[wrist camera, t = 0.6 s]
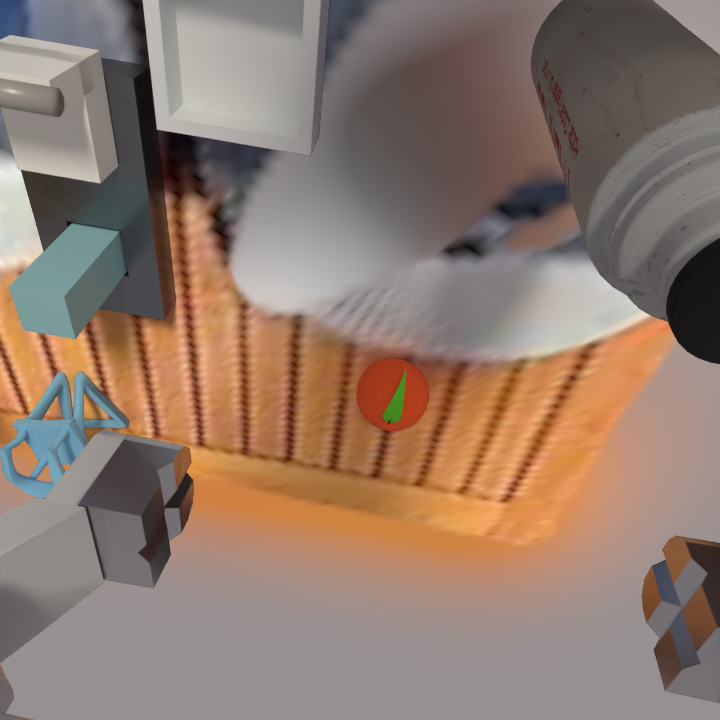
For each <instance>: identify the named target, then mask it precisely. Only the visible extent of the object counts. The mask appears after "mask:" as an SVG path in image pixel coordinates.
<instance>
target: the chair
mask: <svg viewBox="0 0 720 720" xmlns="http://www.w3.org/2000/svg"><path fill="white" fill-rule="evenodd" d="M84 392H85V393H86V394H87V395H88V396H89V397H90V398H91V399H92V400H93V401H95V402H96V403H97V404H98V405H99V406H100V407H101V408H102V409H103V410H104V411H105V412H106V413H108V414H109V415H110V416H111V417H112V418H113V419H114V420H84ZM57 395H59V400H60V405H61V410H62V415H63V419H59V420H43V418H44V416H45V414H46V412H47V411H48V409H49V407H50V406H51V404H52V403H53V401H54V399H55V398H56V396H57ZM128 423H129V421H128V419H127V418H126V417H125V416H124V414H123V413H122V412H121V411H120V410H119V409H118V408H117V407H116V406H115V405H114V404H113V403H112V402H111V401H110V400H109V399H108V398H107V397H106V396H105V395H104V394H103V393H102V392H101V391H100V390H99V389H98V388H97V387H96V386H95V385H94V384H93V383H92V382H91V381H90V379H89V378H88V377H87V376H86V375H85V374H84V373H83V372H78V374H77V375H76V377H75V379H74V412H73V415H72V406H71V398H70V391H69V385H68V381H67V378H66V376H65V374H63V373H62V372H58V373H57V374H56V376H55V378H54V380H53V381H52V383H51V384H50V386H49V387H48V389H47V390H46V392H45V393H44V395H43V396H42V398H41V399H40V401H39V402H38V403H37V405H36V406H35V408H34V409H33V410H32V412H31V413H30V414H29V415H28V416H27V417H26V418H25V419H17V420H16V421H15V422H14V424H13V426H14V427H15V429H16V430H17V435H16V437H15V438H14V439H13V440H12V441H11V442H10V443H8V444H7V445H5V446H4V447H2V448H1V449H0V457H1V464H2V471H3V474H4V476H5V477H6V478H7V479H8V480H9V481H10V482H12V483H13V484H14V485H15V486H17V487H18V488H20V489H21V490H23V491H24V492H26V493H28V494H30V495H32V496H35V497H38V498H43V499H44V498H45V497H46V496H47V495H48V493H49V492H50V491H51V489H52V488H53V487H54V486H55V484H56V483H57V482H58V481H59V479H60V478H61V477H62V475H63V474H64V473H65V470H64V468H63V467H62V464H72V463H73V461H74V460H75V459H76V458H77V456H78V455H79V454H80V453H81V451H82V450H83V449H84V447H85V446H86V445H87V444H88V440H87V437H86V433H85V428H126V427H127V425H128ZM23 440H25V441H26V442H27V444H28V445H29V447H30V448H31V449H32V451H33V453H34V454H35V456H36V458H37V459H38V460H39V462H38V464H37V465H36V467H35V469H34V470H33V472H32V474H31V475H30V477H26V476H23V475H21V474H19V473H18V472H17V471H16V469H15V468H14V465H13V461H12V455H11V449H12V448H14V447H16V446H17V445H19V444H20V443H21V442H23ZM46 465H48V466H49V471H50V475H51V479H52V482H44V481H40V480H36V478H37V477H38V476H39V475H40V473H41V472H42V470H43V469H44V467H45V466H46Z"/></svg>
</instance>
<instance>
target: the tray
mask: <svg viewBox="0 0 720 720" xmlns="http://www.w3.org/2000/svg"><path fill="white" fill-rule="evenodd" d="M143 7H144V16H145V25H146V34H147V43H148V52H149V61H150V70H151V80H152V89H153V98H154V107H155V116H156V125H157V130H163V131H169V132H175V133H181V134H186V135H192V136H198V137H204V138H210V139H216V140H221V141H227V142H233V143H239V144H245V145H251V146H256V147H262V148H268V149H274V150H280V151H286V152H292V153H298V154H303V155H311V153H312V151H313V149H314V147H315V145H316V142H317V140H318V138H319V130H320V117H321V104H322V91H323V78H324V65H325V52H326V39H327V26H328V13H329V0H143Z"/></svg>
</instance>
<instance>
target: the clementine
mask: <svg viewBox="0 0 720 720" xmlns="http://www.w3.org/2000/svg"><path fill="white" fill-rule="evenodd" d="M428 400H429V391H428V384H427V382H426V380H425V378H424V376H423V374H422V373H421V371H420V370H419V369H418V368H417V367H415V366H414V365H412V364H411V363H409V362H407V361H404V360H401V359H395V358H394V359H385V360H382V361H378V362H376V363H374V364H373V365H371V366H370V367H369V368H368V369H367V370H366V371H365V372H364V373H363V375H362V377H361V379H360V381H359V383H358V387H357V402H358V406H359V409H360V411H361V413H362V414H363V416H364V417H365V418H366V419H367V420H368V421H369V422H370V423H371V424H372V425H374V426H375V427H377V428H380V429H382V430H387V431H399V430H404V429H406V428H408V427H410V426H412V425H414V424H415V423H416V422H417V421H419V419H420V418H421V416H422V415H423V414H424V412H425V411H426V408H427V404H428Z"/></svg>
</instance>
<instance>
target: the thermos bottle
mask: <svg viewBox="0 0 720 720" xmlns="http://www.w3.org/2000/svg"><path fill="white" fill-rule="evenodd" d="M531 71H532V78H533V81H534V84H535V88H536V91H537V94H538V97H539V100H540V103H541V106H542V109H543V113H544V116H545V119H546V122H547V125H548V128H549V131H550V134H551V137H552V140H553V143H554V147H555V150H556V153H557V156H558V159H559V162H560V165H561V168H562V172H563V175H564V178H565V181H566V184H567V187H568V190H569V193H570V196H571V199H572V203H573V206H574V209H575V212H576V215H577V218H578V221H579V224H580V227H581V231H582V234H583V237H584V240H585V243H586V246H587V249H588V252H589V255H590V258H591V261H592V262H593V264H594V266H595V267H596V269H597V271H598V272H599V274H600V275H601V276H602V277H603V278H604V279H605V280H606V281H607V282H608V283H609V284H610V285H611V286H612V287H614V288H616V289H617V290H619V291H621V292H622V293H624V294H626V295H627V296H628V298H629V299H630V300H631V301H632V302H633V303H634V304H635V305H636V306H637V307H638V308H639V309H641V310H642V311H644V312H646V313H647V314H649V315H651V316H652V317H655V318H658V319H661V320H664V321H667V322H668V323H669V325H670V328H671V330H672V332H673V334H674V336H675V338H676V339H677V341H678V343H679V344H680V345H681V346H682V347H683V348H684V349H685V350H687V352H689V353H690V354H692V355H694V356H695V357H697V358H699V359H702V360H705V361H708V362H711V363H716V364H720V55H719V54H718V53H717V52H716V51H714V50H713V49H712V48H711V47H709V46H708V45H707V44H706V43H705V42H703V41H702V40H701V39H699V38H698V37H697V36H696V35H694V34H693V33H692V32H691V31H689V30H688V29H687V28H685V27H684V26H683V25H682V24H681V23H680V22H678V21H677V20H676V19H675V18H674V17H673V16H671V15H670V14H669V13H668V12H667V11H665V10H664V9H663V8H662V7H660V6H659V5H658V4H656V3H655V2H654V1H653V0H563V1H561V2H560V3H559V4H558V5H557V6H556V7H555V8H554V9H553V10H552V11H551V13H550V14H549V16H548V17H547V18H546V20H545V21H544V23H543V24H542V26H541V28H540V30H539V32H538V34H537V36H536V39H535V42H534V46H533V50H532V57H531Z"/></svg>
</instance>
